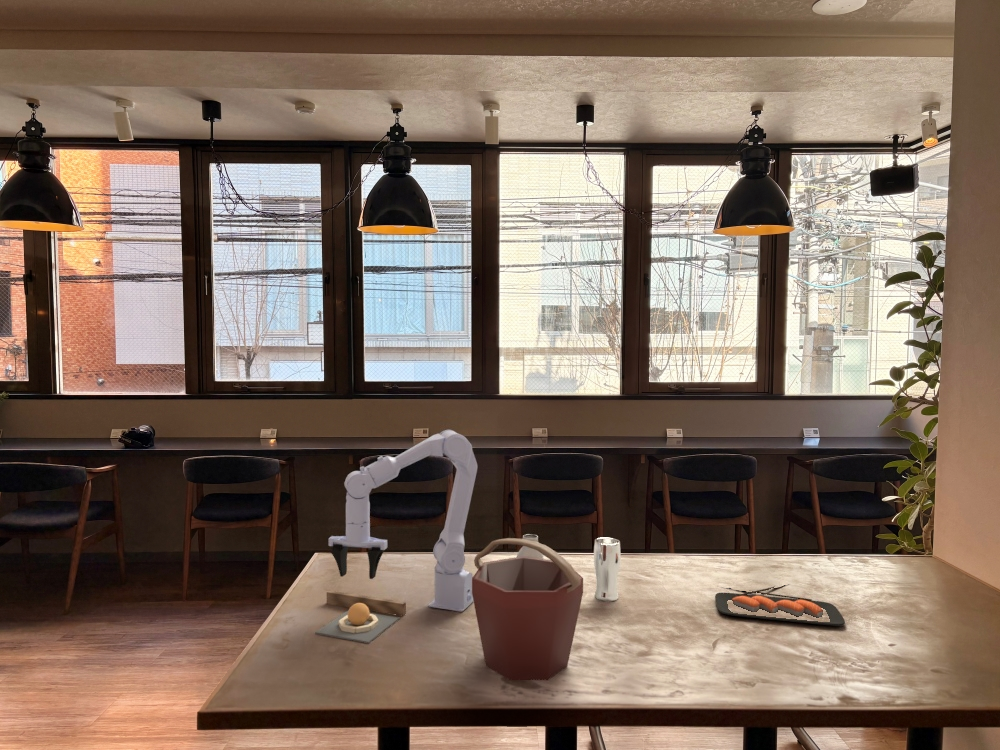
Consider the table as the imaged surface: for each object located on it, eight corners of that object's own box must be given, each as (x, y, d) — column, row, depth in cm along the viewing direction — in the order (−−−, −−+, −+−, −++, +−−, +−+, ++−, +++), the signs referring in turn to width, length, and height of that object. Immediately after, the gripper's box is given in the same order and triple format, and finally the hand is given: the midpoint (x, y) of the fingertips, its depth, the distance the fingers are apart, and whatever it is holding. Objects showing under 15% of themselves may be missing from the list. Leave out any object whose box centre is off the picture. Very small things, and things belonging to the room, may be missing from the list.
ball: (370, 619, 156) (370, 599, 156) (368, 628, 151) (368, 607, 151) (349, 620, 155) (349, 599, 155) (346, 629, 150) (346, 608, 150)
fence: (405, 614, 160) (405, 602, 160) (403, 616, 159) (403, 604, 159) (329, 602, 168) (329, 590, 168) (326, 603, 166) (326, 592, 166)
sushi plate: (718, 620, 160) (718, 604, 160) (709, 578, 189) (709, 565, 189) (848, 633, 153) (849, 617, 153) (818, 588, 182) (819, 574, 182)
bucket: (450, 654, 139) (450, 538, 138) (526, 627, 153) (527, 521, 152) (527, 702, 120) (529, 568, 120) (607, 666, 135) (608, 546, 134)
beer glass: (618, 593, 176) (619, 537, 175) (621, 602, 169) (621, 545, 168) (592, 591, 176) (593, 536, 176) (593, 601, 169) (594, 544, 169)
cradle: (399, 619, 157) (399, 613, 157) (369, 643, 144) (369, 637, 144) (349, 610, 162) (349, 605, 162) (315, 633, 149) (315, 627, 149)
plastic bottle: (541, 624, 155) (542, 541, 154) (513, 621, 156) (514, 539, 155) (545, 613, 161) (546, 533, 160) (518, 611, 163) (519, 531, 162)
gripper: (392, 518, 162) (391, 573, 162) (337, 515, 165) (337, 568, 165) (381, 526, 155) (381, 583, 155) (324, 522, 158) (324, 578, 158)
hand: (357, 576), depth 160 cm, fingers open, 7 cm apart
